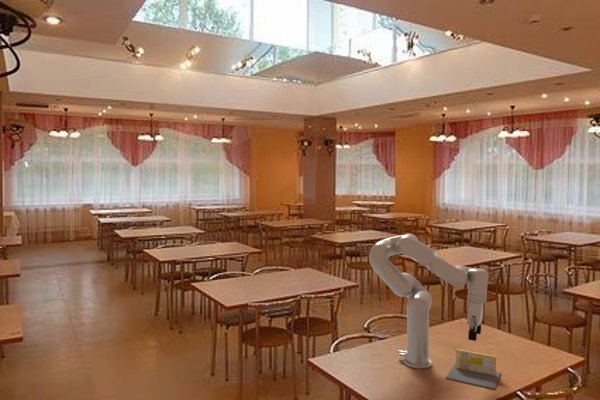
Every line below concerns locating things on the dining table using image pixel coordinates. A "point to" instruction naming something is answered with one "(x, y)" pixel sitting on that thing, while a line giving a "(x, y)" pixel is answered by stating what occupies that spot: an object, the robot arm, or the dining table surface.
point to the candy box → (476, 362)
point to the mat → (473, 378)
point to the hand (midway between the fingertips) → (474, 336)
